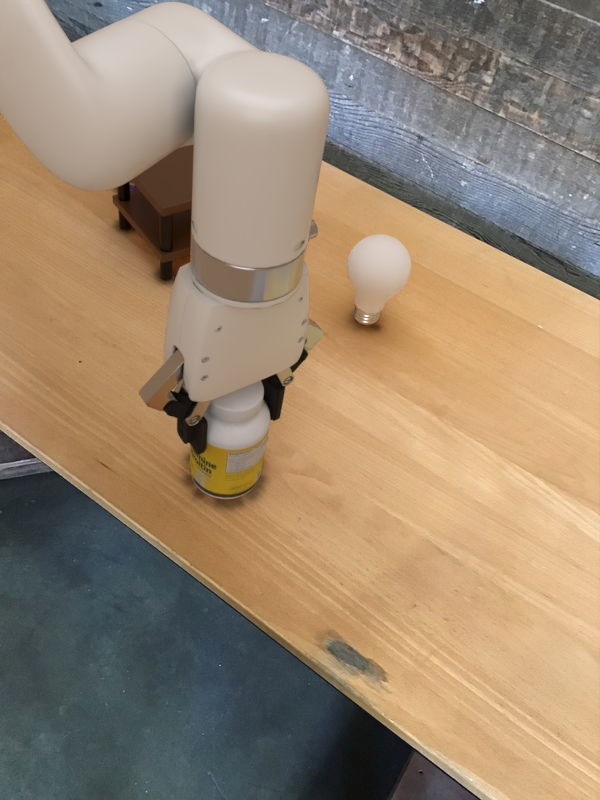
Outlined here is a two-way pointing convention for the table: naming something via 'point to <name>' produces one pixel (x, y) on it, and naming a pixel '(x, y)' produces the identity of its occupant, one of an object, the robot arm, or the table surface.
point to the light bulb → (376, 274)
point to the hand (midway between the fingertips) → (230, 423)
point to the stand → (161, 207)
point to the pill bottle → (233, 444)
